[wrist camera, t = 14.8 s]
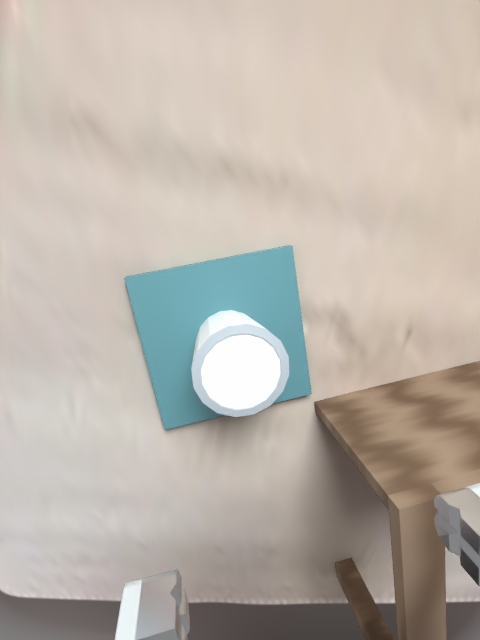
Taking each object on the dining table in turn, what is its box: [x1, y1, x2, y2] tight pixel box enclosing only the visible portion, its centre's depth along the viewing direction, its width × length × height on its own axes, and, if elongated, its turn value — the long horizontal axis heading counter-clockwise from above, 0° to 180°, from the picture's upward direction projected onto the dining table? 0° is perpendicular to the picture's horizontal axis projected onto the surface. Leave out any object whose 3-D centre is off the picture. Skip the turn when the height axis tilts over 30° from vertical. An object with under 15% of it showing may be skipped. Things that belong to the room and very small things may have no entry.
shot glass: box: [191, 310, 289, 417], centre depth 27 cm, size 7×7×7 cm
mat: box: [124, 245, 312, 430], centre depth 31 cm, size 14×14×1 cm
